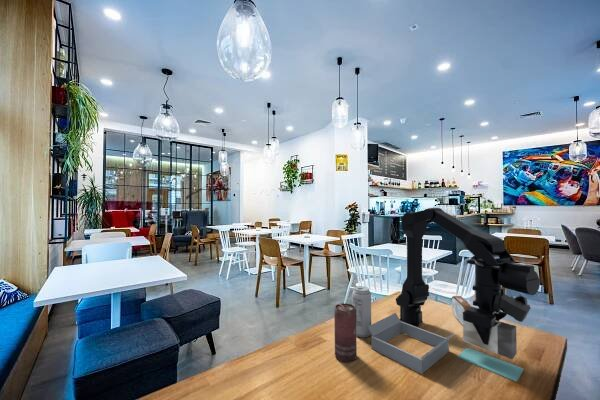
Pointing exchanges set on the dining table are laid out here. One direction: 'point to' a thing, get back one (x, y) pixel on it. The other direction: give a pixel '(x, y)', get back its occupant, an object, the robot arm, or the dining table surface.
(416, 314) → the robot arm
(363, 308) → the energy drink can
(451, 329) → the dining table surface
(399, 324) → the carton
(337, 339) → the can
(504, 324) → the block
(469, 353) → the mat
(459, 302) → the tin
